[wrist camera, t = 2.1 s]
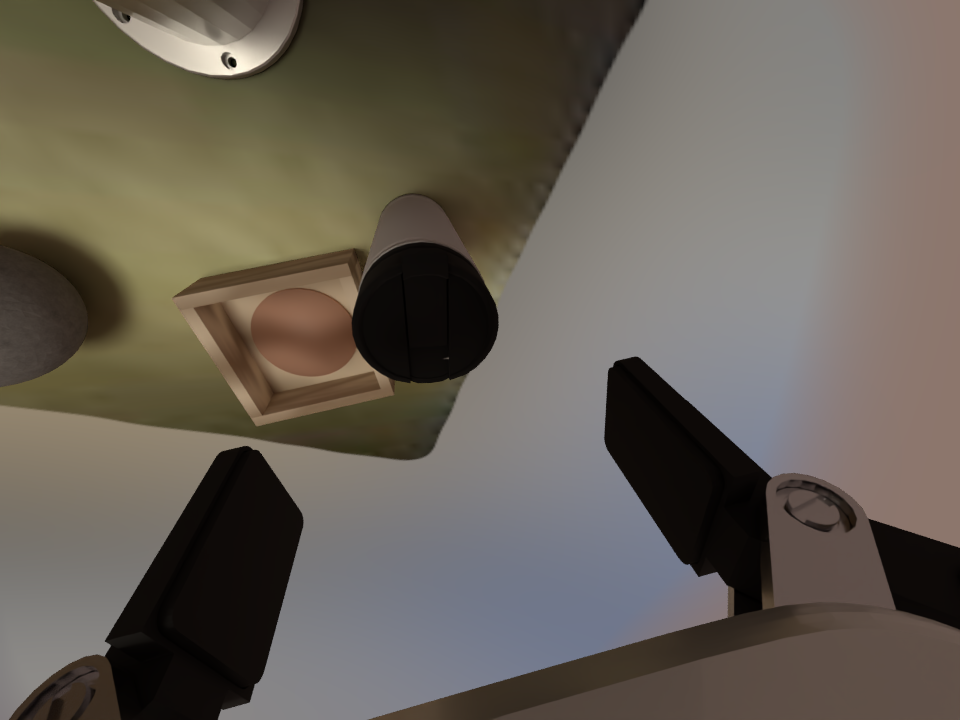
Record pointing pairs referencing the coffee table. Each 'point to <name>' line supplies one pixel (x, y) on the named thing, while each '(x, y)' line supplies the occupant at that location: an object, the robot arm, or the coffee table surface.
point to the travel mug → (422, 298)
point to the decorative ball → (36, 318)
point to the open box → (285, 335)
